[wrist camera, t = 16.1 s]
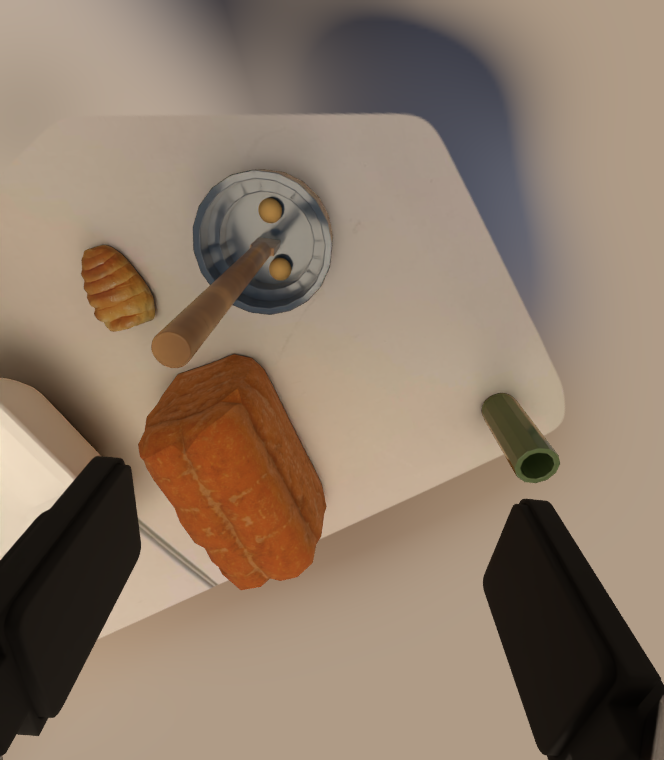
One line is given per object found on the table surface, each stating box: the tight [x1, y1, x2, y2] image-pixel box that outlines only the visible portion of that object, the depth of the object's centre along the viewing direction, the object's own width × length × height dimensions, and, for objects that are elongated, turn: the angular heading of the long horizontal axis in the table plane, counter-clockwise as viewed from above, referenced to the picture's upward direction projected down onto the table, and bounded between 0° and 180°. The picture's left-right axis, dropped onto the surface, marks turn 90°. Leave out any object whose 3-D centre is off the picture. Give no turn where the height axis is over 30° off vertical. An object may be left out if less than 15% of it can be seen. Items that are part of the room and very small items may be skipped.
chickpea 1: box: [258, 198, 282, 223], centre depth 43 cm, size 2×2×2 cm
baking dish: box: [0, 378, 101, 560], centre depth 54 cm, size 34×28×13 cm
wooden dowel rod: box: [152, 237, 280, 368], centre depth 32 cm, size 2×2×30 cm
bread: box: [138, 354, 326, 590], centre depth 52 cm, size 14×27×15 cm, turn 21°
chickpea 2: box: [269, 258, 291, 280], centre depth 46 cm, size 2×2×2 cm
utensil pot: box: [481, 393, 560, 483], centre depth 50 cm, size 5×5×12 cm
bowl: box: [193, 169, 333, 315], centre depth 43 cm, size 13×13×6 cm
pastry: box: [81, 245, 155, 332], centre depth 47 cm, size 9×7×4 cm
